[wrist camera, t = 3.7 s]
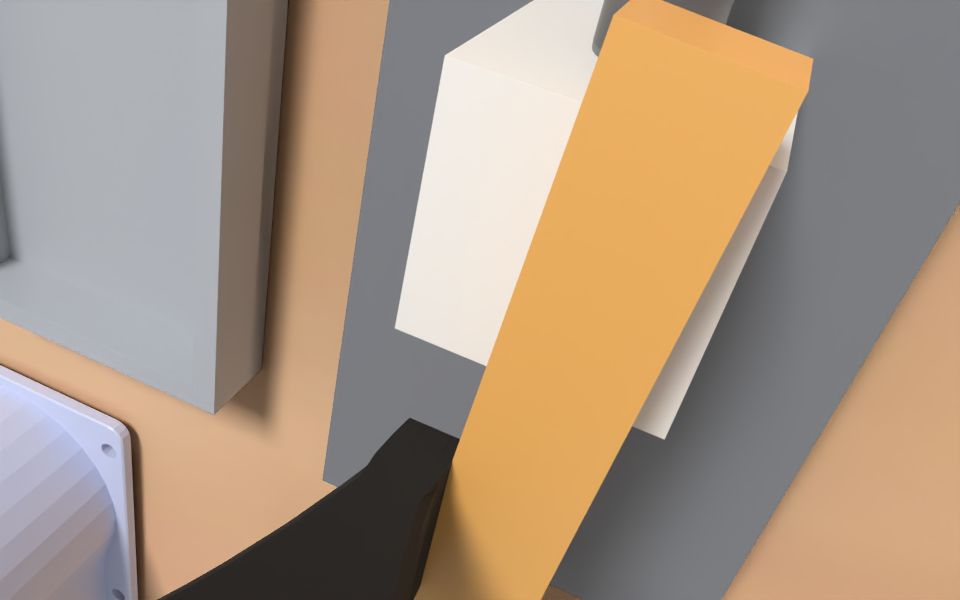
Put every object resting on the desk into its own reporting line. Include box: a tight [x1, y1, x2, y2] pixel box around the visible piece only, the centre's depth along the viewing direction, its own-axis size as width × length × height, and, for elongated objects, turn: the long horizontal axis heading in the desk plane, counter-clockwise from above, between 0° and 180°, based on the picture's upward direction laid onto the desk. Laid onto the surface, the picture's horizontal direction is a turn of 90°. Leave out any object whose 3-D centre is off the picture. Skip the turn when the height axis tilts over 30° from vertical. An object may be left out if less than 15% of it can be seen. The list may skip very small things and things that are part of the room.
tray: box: [0, 0, 288, 415], centre depth 18 cm, size 14×8×2 cm, turn 167°
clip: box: [414, 0, 813, 600], centre depth 13 cm, size 13×2×6 cm, turn 163°
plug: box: [395, 0, 808, 440], centre depth 11 cm, size 7×4×6 cm, turn 167°
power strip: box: [323, 0, 960, 600], centre depth 16 cm, size 14×9×2 cm, turn 167°
